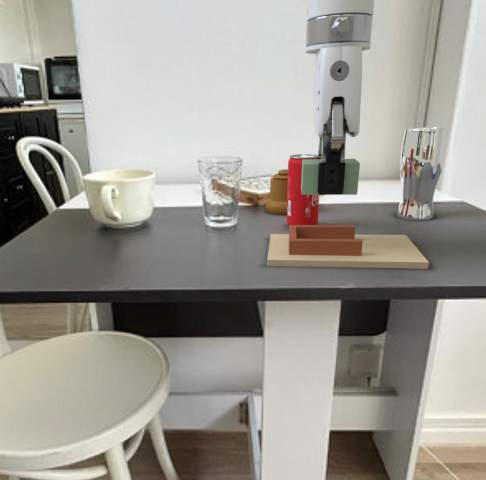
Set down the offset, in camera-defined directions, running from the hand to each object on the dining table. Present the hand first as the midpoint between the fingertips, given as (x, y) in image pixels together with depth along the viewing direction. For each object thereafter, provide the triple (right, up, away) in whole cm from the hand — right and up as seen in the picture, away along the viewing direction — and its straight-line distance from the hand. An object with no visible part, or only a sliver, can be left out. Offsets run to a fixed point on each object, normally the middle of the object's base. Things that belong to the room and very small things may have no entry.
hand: (328, 188), depth 59 cm
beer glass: (+21, -1, +20) cm, 29 cm away
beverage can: (0, -4, +16) cm, 16 cm away
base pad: (+3, -9, +3) cm, 9 cm away
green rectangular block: (0, 0, 0) cm, 0 cm away
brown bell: (-1, +1, +27) cm, 27 cm away
